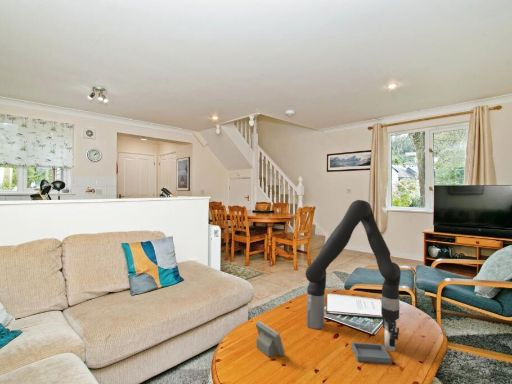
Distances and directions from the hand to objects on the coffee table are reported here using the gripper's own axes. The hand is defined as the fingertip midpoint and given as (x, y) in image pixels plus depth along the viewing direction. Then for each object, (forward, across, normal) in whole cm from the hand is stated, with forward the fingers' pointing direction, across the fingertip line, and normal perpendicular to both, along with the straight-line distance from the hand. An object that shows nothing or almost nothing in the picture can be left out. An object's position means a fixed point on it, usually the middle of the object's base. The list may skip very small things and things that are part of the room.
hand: (390, 343), depth 123 cm
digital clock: (+3, +8, -56) cm, 56 cm away
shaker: (+2, 0, 0) cm, 2 cm away
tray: (+2, +7, -11) cm, 13 cm away
